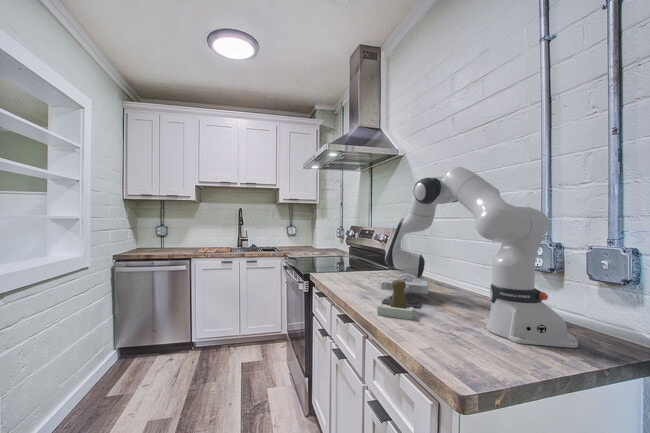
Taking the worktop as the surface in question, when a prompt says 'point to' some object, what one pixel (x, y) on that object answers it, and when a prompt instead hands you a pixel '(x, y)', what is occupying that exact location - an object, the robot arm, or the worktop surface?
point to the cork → (398, 294)
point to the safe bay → (395, 312)
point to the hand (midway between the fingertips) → (401, 290)
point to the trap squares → (408, 303)
